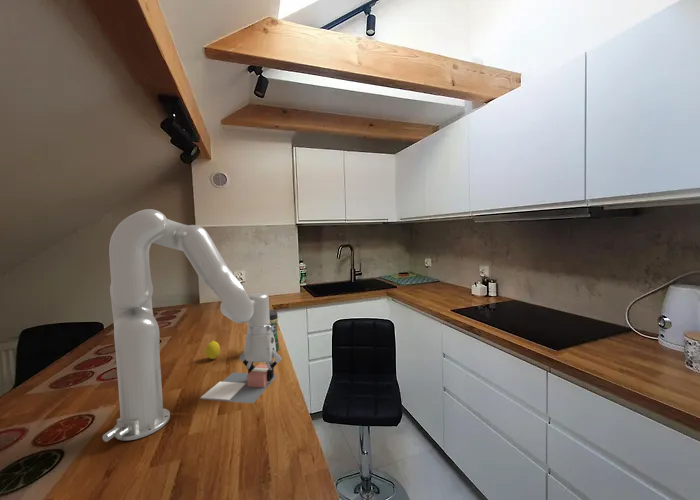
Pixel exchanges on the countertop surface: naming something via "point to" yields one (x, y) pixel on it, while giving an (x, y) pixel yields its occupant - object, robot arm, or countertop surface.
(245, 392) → the mat
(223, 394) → the pad
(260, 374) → the card box
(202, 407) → the countertop surface
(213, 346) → the lemon
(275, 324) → the coffee jar
